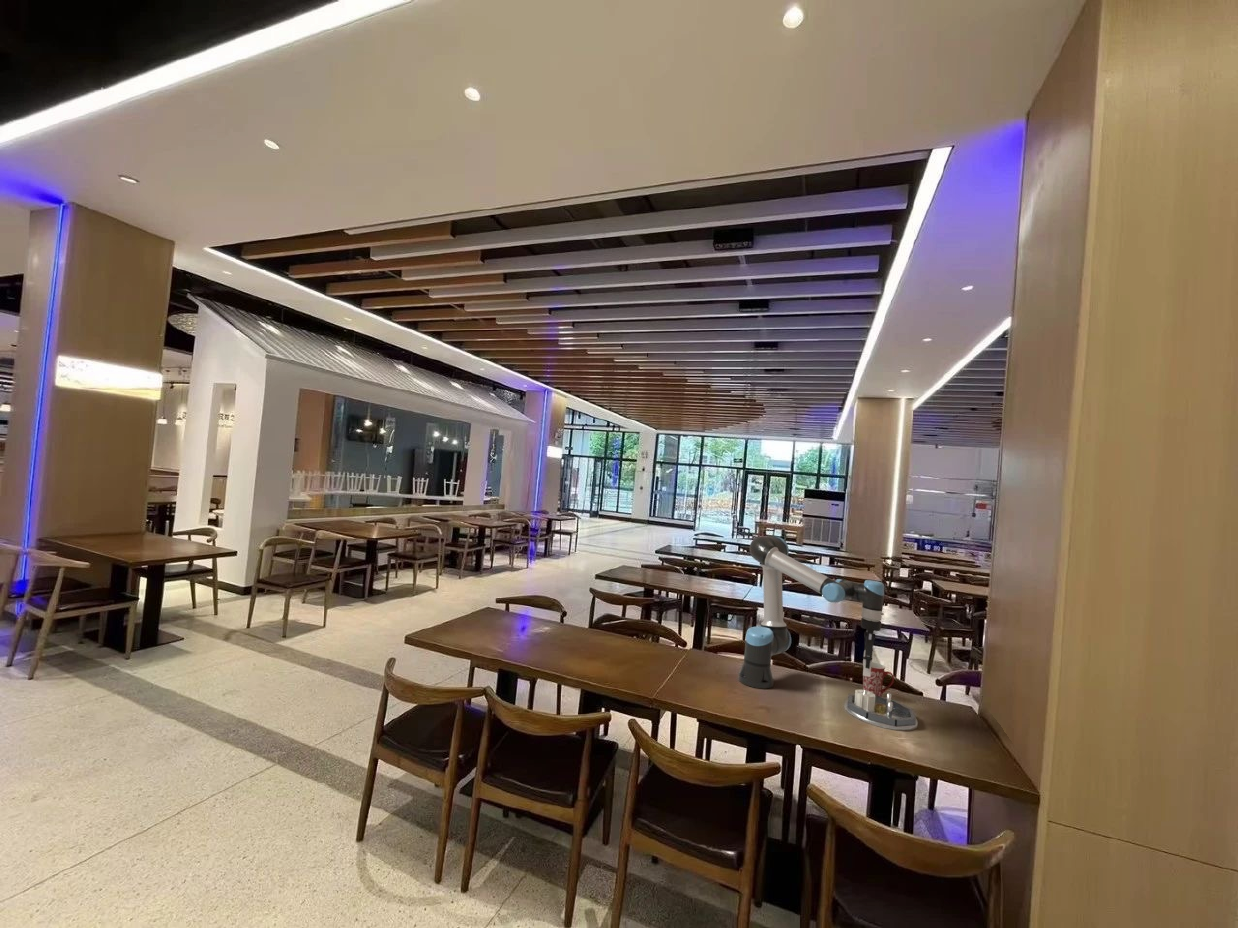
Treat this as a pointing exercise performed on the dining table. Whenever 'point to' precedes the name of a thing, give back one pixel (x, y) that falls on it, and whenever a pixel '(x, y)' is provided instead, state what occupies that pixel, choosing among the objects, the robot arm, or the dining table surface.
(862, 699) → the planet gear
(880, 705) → the tray
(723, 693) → the dining table surface
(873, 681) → the mug
